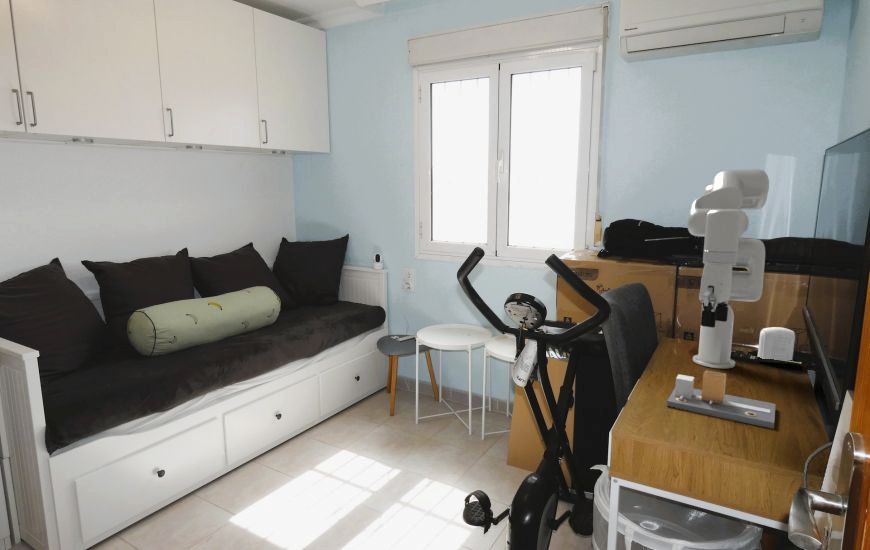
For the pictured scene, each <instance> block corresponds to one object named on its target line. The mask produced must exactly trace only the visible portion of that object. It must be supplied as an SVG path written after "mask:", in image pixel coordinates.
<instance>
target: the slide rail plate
mask: <svg viewBox="0 0 870 550" xmlns="http://www.w3.org/2000/svg"><path fill="white" fill-rule="evenodd" d="M694 386H695V377H694V376H690V375H684V374H677V376H676V377H675V385H674V389H672V393H671V394H670V396H669V397H668V399H667V402H666V407H668V406H671V407H670V408H673V407H675V408H674V409H678V408H679V409H678V410H682V409H683V411H687V410H688V411H687V412H693V413H697V414H698V413H699V414H702V415H707V416H712V417H717V418H719V419H720V418H721V419H726V420H730V421H733V422H734V421H736V422H739V423H740V422H741V423H743V424H744V423H745V424H749V425H754V426H759V427H764V428H768V429H773V430H774V429H775V421H776V420H775V419H776V403H772V402H768V401H762V400H757V399H751V398H747V397H740V396H736V395H731V394H724V400H723V403H718V402H712V404H709V402H710V401H707V400H702V399H701V396H702V389H699V388H694Z"/></svg>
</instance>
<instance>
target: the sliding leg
mask: <svg viewBox="0 0 870 550" xmlns="http://www.w3.org/2000/svg"><path fill="white" fill-rule="evenodd" d="M726 381H727V373H726V372H725V373H724V372H719V371H715V370H714V371H713V370H709V369H705V370H704V372H703V374H702V388H701V390H702V396H701V399H702V400H707V401H710V402H709V404H712V402H718V403H723V400H724V394H725V392H726Z"/></svg>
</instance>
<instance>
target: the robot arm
mask: <svg viewBox="0 0 870 550" xmlns="http://www.w3.org/2000/svg"><path fill="white" fill-rule="evenodd" d="M769 190H770V177H769V176H768V173H766V171H765V170H763V169H760V168H755V169H754V168H751V169H749V168H747V169H728V170H727V169H726V170H723V171H722V170H721V171H720V172H719V173H716V175H715V176H714V178H713V180H712V184H708V185H707V186H706V187H705V188H704V191H703V195H701V196H699V197H698V198H696V199H695V200H694V201H693V202H692V204H691V205H690V208H689V212H688V215H687V221H686V223H687V225H686V227H687V230H688V232H689V234H690V235H692V236H695V237H704V244H703V255H702V263H703V269H702V270H703V271H702V274H701V278H700V288H699V289H700V290H699V294H698V295H699V296H698V300H699V301H700V302H701V315H700V317H701V318H700V331H699V340H698V343H699V344H698V353H697V354H696V355H695V354H694V355H693V356H692V361H693V362H694V363H695V364H698V365H699V366H702V367H708V368H712V369H723V370H724V369H732V368H735V366H736V361H735V360H733V359H731V353H732V344H733V342H732V341H733V333H734V332H733V331H734V322H735V319H734V318H735V313H734V310H733V308H732V307H731V305H729V303H730V302H729V301H737V302H747V303H748V302H749V303H750V302H751V303H755V302H757V301H759V300H760V299H761V297H762V294H763V289H764V278H765V277H764V276H765V275H764V274H765V263H766V262H765V261H766V247H765V244H764V242H763V241H762V240H760V239H758V238H746V237H744V238H743V237H741V236H743V235H744V234H745V233H746V232H747V231H748V228H749V225H750V223H749V221H750V220H749V216H748V215H747V213H746V212H745V211H743V210H747V211H749V210H751V211H754V210H760V209H762V208H764V206H765V204H766V202H767V200H768V199H767V198H768V195H769ZM733 268H743V269H746V270H747V271H736V270H735V271H734V270H733Z"/></svg>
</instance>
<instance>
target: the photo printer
mask: <svg viewBox="0 0 870 550" xmlns="http://www.w3.org/2000/svg"><path fill="white" fill-rule="evenodd" d="M758 340H759V341H758V350H757V357H760V358H762V359H774V360H792V361H793V359H794V358H793V356H794V347H795V340H796V333H795V331H793V330H791V329H789V328H786V327H779V326H778V327H777V326H772V327H765V328H762V329H761V330H760V332H759V339H758Z"/></svg>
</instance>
